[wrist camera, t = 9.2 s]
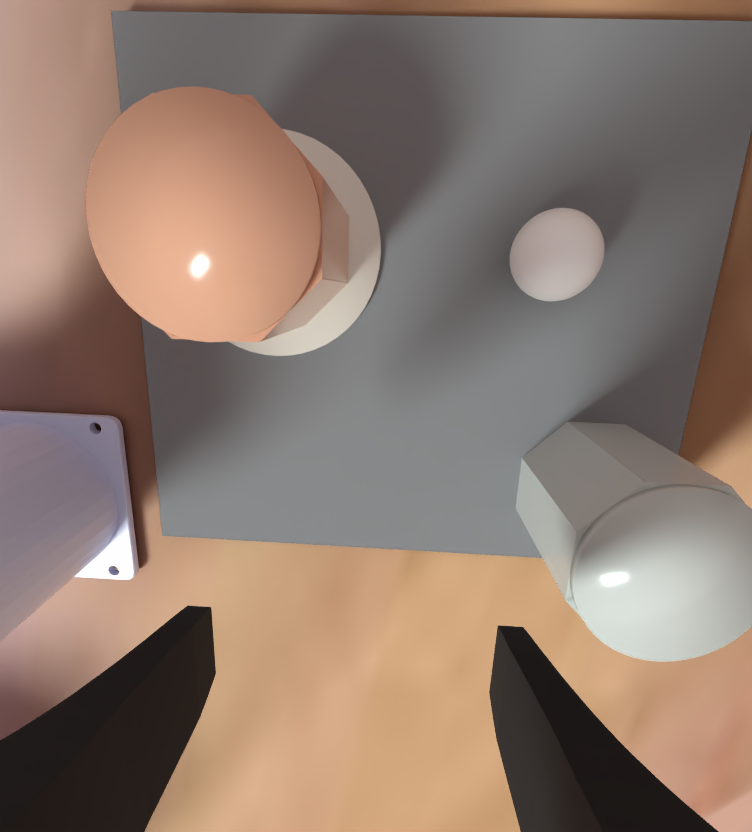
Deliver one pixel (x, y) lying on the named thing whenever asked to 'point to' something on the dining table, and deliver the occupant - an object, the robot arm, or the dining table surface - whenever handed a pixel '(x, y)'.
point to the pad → (361, 258)
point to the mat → (453, 264)
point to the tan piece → (213, 218)
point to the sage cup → (639, 541)
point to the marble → (557, 254)
